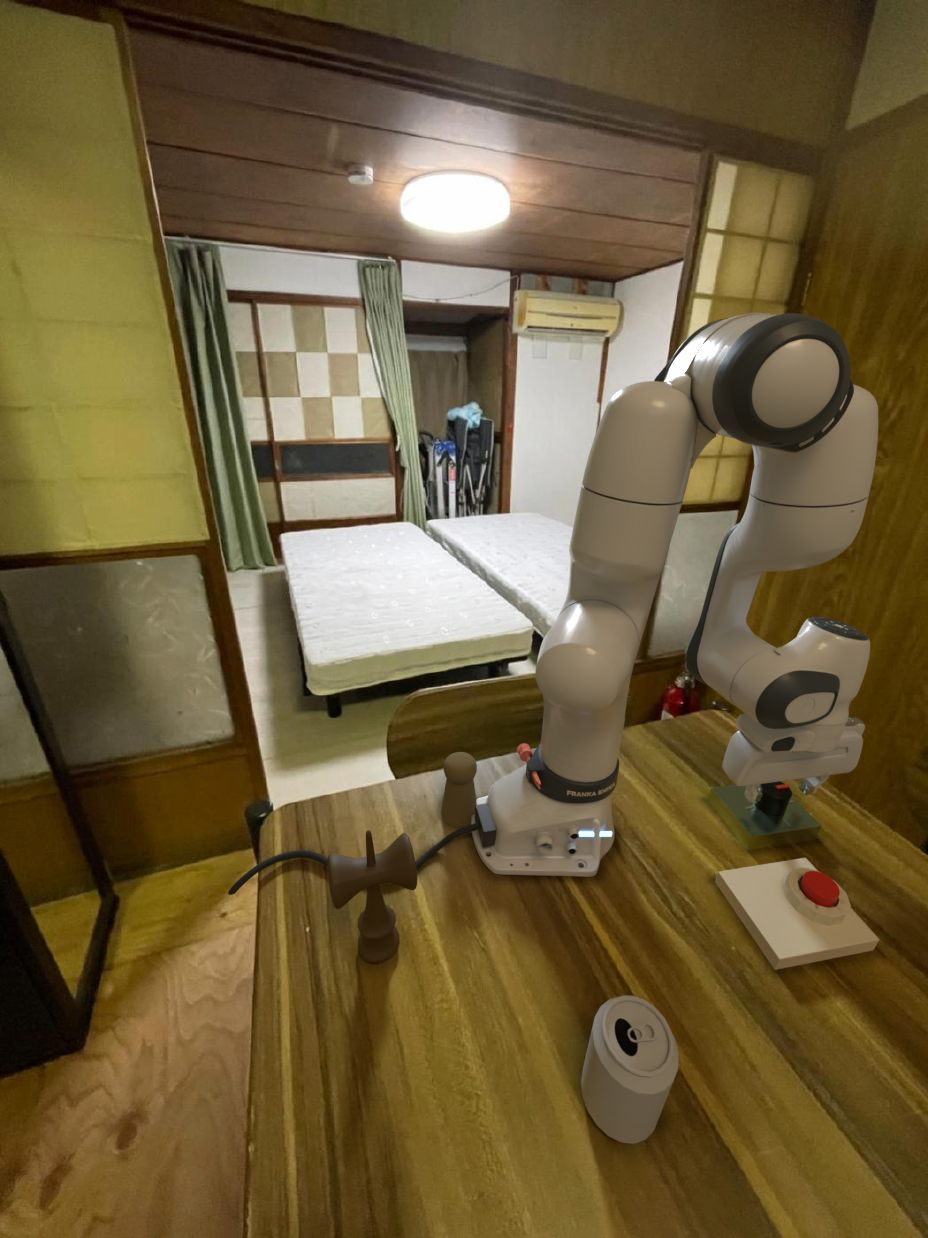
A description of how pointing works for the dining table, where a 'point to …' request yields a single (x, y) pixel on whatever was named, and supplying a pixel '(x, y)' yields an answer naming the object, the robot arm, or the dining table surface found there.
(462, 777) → the brown wooden peg doll
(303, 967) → the dining table surface
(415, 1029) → the dining table surface
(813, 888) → the power button
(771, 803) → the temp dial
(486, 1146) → the dining table surface
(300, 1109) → the dining table surface
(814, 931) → the white button base
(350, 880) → the kendama
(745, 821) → the dial plate
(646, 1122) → the can
